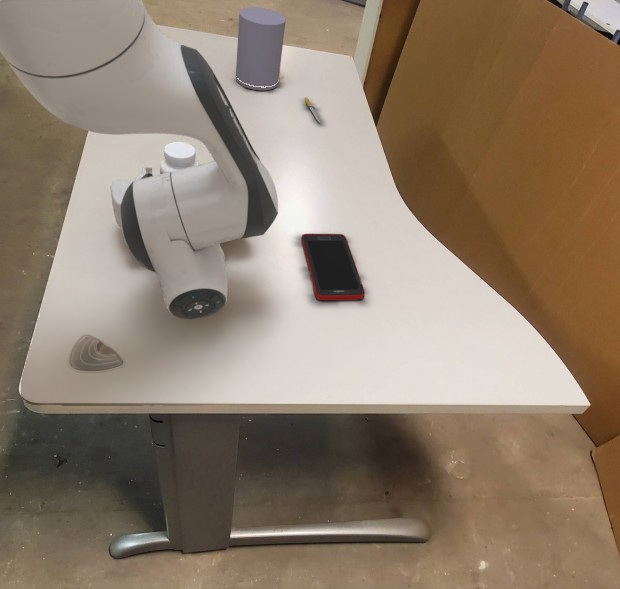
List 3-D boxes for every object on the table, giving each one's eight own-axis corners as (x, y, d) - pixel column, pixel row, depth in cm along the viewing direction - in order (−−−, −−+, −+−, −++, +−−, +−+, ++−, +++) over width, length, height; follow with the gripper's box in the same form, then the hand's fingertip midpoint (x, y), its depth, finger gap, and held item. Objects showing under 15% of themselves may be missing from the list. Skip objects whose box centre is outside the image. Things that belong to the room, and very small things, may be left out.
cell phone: (343, 237, 90) (344, 233, 89) (365, 300, 80) (366, 295, 79) (299, 237, 88) (300, 233, 87) (316, 301, 78) (317, 296, 77)
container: (277, 75, 131) (285, 11, 121) (278, 94, 124) (286, 27, 114) (236, 69, 130) (240, 4, 119) (234, 88, 123) (238, 20, 112)
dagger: (324, 122, 117) (316, 120, 116) (322, 125, 118) (315, 124, 117) (310, 97, 123) (302, 95, 122) (308, 100, 124) (301, 99, 123)
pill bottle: (153, 209, 86) (149, 149, 79) (178, 192, 90) (176, 134, 83) (183, 224, 85) (182, 165, 77) (207, 207, 89) (208, 149, 81)
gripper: (259, 206, 75) (243, 154, 84) (108, 209, 70) (108, 153, 79) (256, 239, 80) (241, 186, 89) (113, 245, 74) (113, 188, 83)
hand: (178, 171), depth 84 cm, fingers open, 8 cm apart
